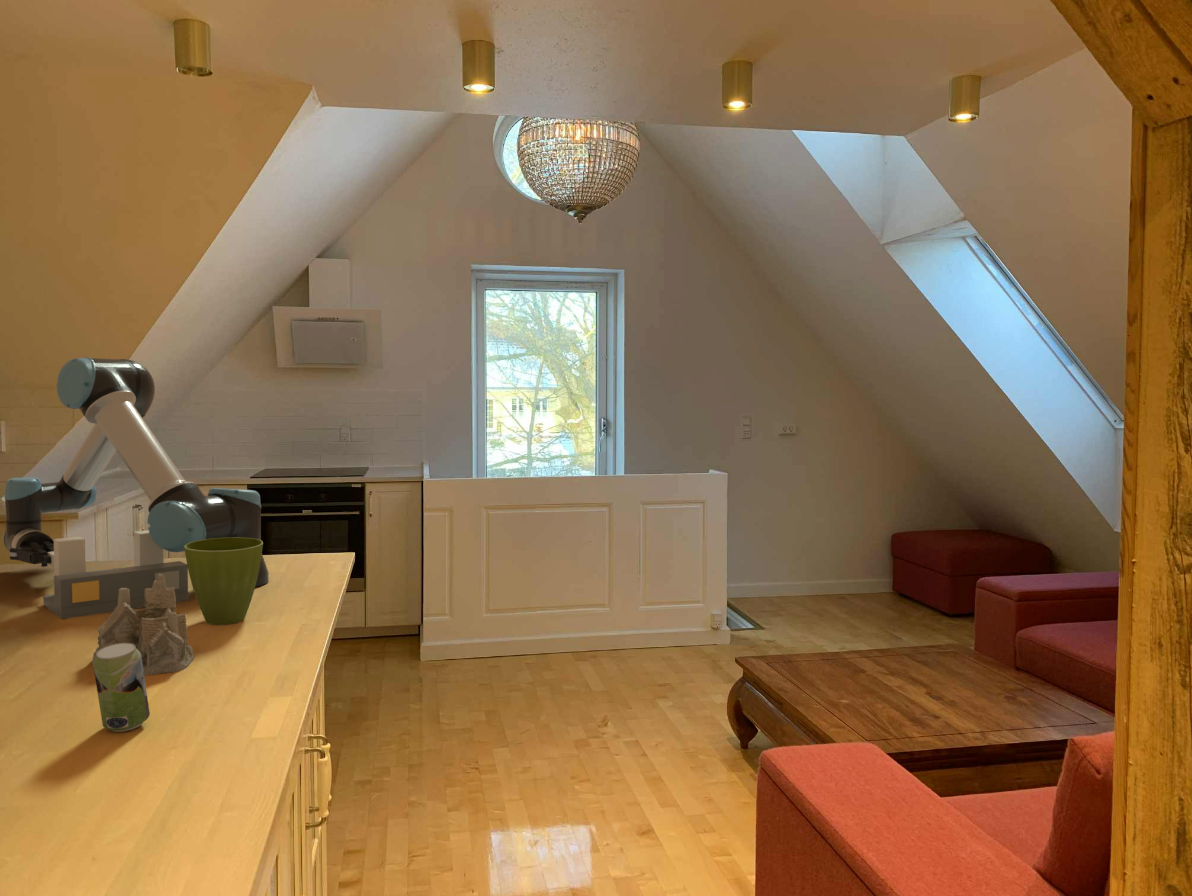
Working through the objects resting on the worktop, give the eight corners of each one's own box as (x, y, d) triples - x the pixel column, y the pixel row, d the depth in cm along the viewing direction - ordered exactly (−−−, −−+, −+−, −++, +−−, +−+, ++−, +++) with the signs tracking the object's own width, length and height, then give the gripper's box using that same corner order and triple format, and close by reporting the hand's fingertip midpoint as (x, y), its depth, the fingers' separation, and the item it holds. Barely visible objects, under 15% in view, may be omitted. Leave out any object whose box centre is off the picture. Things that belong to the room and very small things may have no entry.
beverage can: (158, 719, 131) (157, 639, 130) (127, 739, 124) (126, 654, 123) (118, 717, 132) (116, 637, 131) (84, 736, 125) (83, 652, 124)
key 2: (134, 583, 205) (133, 531, 204) (157, 580, 209) (157, 529, 208) (140, 586, 202) (139, 534, 202) (163, 583, 206) (163, 531, 205)
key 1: (55, 593, 194) (53, 539, 193) (80, 590, 198) (79, 536, 197) (59, 597, 191) (58, 541, 191) (86, 593, 195) (84, 539, 194)
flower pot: (235, 633, 176) (235, 552, 175) (168, 627, 179) (167, 548, 178) (277, 614, 191) (277, 539, 190) (214, 609, 194) (214, 535, 192)
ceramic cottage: (96, 652, 162) (97, 571, 160) (195, 648, 168) (198, 570, 166) (81, 686, 147) (82, 597, 145) (191, 680, 153) (193, 594, 151)
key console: (43, 604, 194) (42, 568, 193) (165, 588, 211) (165, 554, 210) (61, 619, 183) (61, 580, 182) (188, 600, 200) (188, 565, 200)
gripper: (64, 558, 222) (91, 574, 205) (2, 565, 213) (25, 582, 196) (63, 528, 221) (91, 542, 204) (1, 533, 212) (24, 548, 195)
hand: (58, 562), depth 200 cm, fingers closed
